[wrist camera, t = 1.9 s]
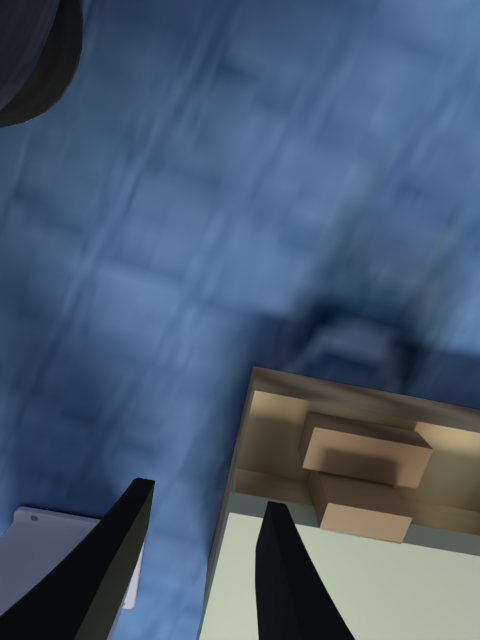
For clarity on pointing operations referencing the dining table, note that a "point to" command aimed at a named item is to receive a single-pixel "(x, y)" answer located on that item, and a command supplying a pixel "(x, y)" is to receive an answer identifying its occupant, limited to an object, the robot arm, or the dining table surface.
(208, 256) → the dining table surface
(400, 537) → the lid
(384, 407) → the tan shallow box
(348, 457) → the wooden block
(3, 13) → the pitcher
